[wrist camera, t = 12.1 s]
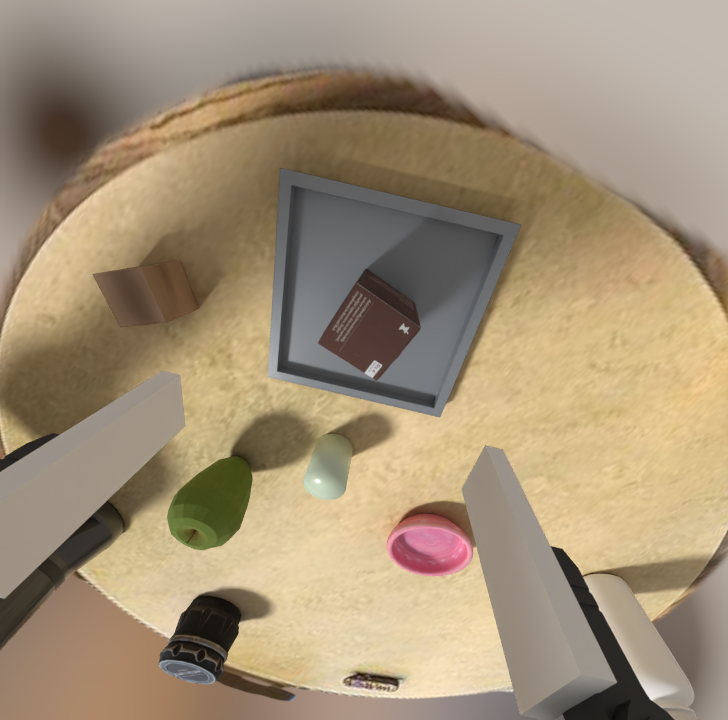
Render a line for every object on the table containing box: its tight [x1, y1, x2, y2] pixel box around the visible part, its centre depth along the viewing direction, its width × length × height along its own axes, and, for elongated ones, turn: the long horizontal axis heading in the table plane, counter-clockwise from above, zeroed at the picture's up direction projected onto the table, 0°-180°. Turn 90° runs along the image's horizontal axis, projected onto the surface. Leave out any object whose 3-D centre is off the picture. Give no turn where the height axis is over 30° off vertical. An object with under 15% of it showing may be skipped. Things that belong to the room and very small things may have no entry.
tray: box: [268, 168, 521, 417], centre depth 28 cm, size 20×20×2 cm
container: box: [159, 597, 241, 684], centre depth 57 cm, size 13×13×10 cm
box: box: [318, 269, 421, 381], centre depth 25 cm, size 6×6×7 cm
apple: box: [167, 456, 252, 550], centre depth 35 cm, size 9×8×12 cm
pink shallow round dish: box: [387, 514, 473, 576], centre depth 42 cm, size 12×12×3 cm
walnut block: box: [93, 261, 199, 327], centre depth 28 cm, size 5×5×5 cm
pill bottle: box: [583, 574, 699, 720], centre depth 38 cm, size 8×8×15 cm
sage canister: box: [303, 433, 353, 500], centre depth 35 cm, size 5×5×6 cm
